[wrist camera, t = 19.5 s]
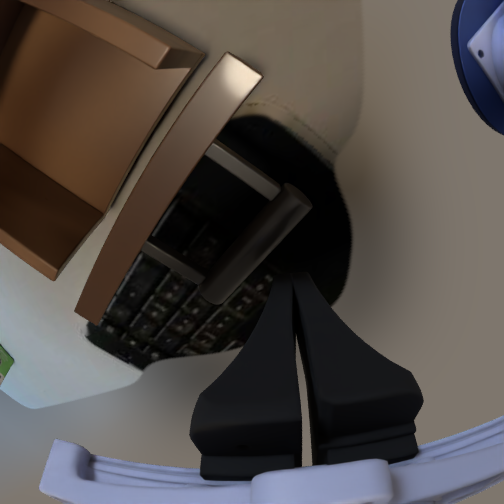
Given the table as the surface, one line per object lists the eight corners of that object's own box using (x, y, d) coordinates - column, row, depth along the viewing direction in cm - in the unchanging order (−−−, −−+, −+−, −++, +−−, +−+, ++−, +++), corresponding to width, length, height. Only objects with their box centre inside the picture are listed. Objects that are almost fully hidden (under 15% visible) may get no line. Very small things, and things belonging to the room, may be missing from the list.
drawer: (338, 133, 14) (385, 179, 9) (203, 286, 19) (186, 372, 14) (51, -36, 8) (-27, -53, 3) (-22, 136, 13) (-92, 175, 8)
